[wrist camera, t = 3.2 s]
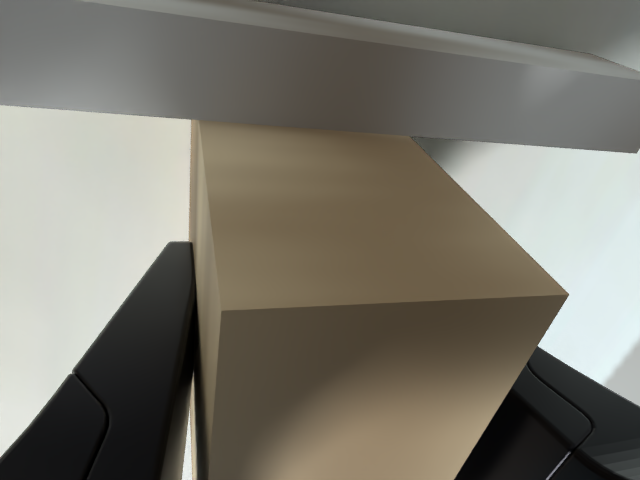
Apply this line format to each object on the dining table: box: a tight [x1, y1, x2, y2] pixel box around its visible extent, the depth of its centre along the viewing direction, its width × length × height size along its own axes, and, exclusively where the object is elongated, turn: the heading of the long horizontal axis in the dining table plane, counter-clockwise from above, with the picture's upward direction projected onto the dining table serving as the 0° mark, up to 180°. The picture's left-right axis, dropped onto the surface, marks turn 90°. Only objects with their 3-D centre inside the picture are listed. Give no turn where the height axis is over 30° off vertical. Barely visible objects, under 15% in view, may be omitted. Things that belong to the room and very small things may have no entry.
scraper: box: [0, 0, 640, 480], centre depth 7 cm, size 12×7×6 cm, turn 79°
